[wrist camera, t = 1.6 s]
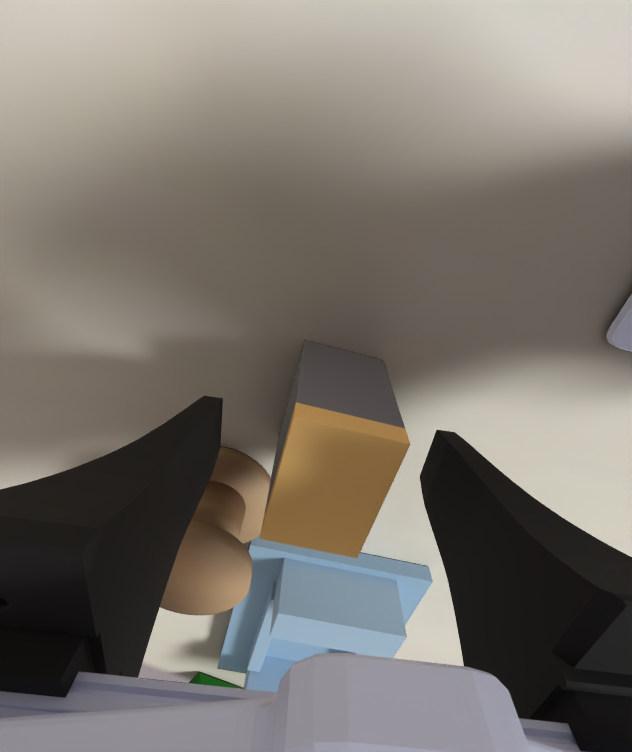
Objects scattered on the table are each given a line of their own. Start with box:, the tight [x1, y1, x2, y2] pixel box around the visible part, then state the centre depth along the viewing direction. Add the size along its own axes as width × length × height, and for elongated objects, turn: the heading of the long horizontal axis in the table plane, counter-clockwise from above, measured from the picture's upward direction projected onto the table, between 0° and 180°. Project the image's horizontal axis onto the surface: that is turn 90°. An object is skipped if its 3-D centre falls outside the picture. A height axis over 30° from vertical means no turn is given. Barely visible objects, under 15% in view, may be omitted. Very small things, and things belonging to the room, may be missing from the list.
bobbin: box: [160, 447, 271, 615], centre depth 15 cm, size 5×5×4 cm
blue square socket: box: [217, 535, 433, 692], centre depth 20 cm, size 9×11×3 cm
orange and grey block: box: [260, 340, 410, 558], centre depth 13 cm, size 3×4×5 cm
